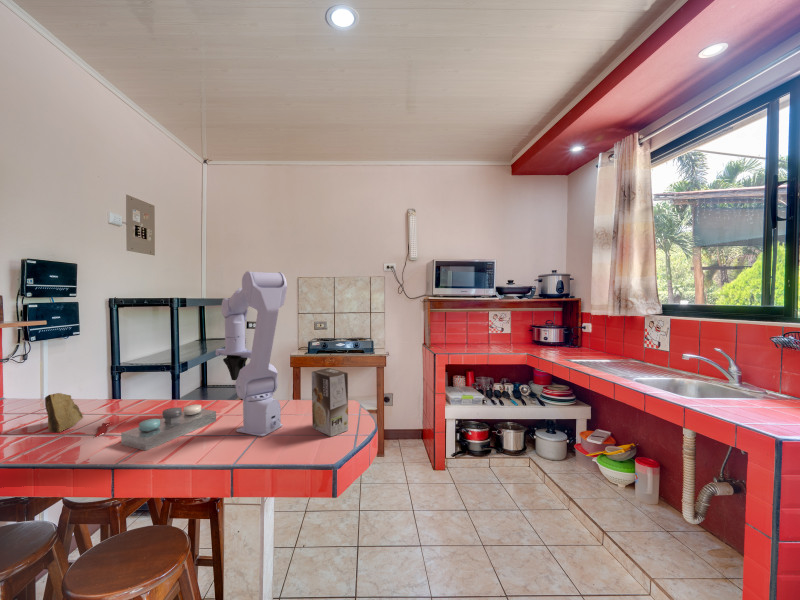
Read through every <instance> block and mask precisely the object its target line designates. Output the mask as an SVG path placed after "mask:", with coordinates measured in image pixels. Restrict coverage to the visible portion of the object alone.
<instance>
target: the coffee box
mask: <svg viewBox="0 0 800 600" xmlns="http://www.w3.org/2000/svg"><path fill="white" fill-rule="evenodd" d="M348 375H349V373H348V372H345V371H343V370H338V369H334V368H330V367H328V368H327V367H326V368H321V369H318V370H315V371H311V409H312V410H311V413H312V414H311V416H312V420H311V422H312V423H311V424H312V429H314V430H315V431H318V432H320V433H323V434H324V435H326V436H328V437H334V436H336V435H339V434H342V433H344V432H347V431H349V377H348Z"/></svg>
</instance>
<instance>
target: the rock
mask: <svg viewBox="0 0 800 600" xmlns="http://www.w3.org/2000/svg"><path fill="white" fill-rule="evenodd" d="M44 404H45V405H44V408H45V410H46V414H47V426H48V427H47V428H48V431H49V432H52V433H59V432H60V433H62V432H61V431H63V430H64V431H65V429H66V430H68V429H70V428H72V427H73V426H75V425H76V424H77V423H78V422H79V421H81V420H82V419H83V418H84V415H83V413H82V411H81V410H80V408H79V406H78V404H76V403H75V402H74V400H73V398H72V396H71V395H69V394H66V393H62V392H57V393H56V392H55V393H52V394H48V395H46V396H45V397H44ZM69 427H70V428H69ZM67 428H68V429H67ZM64 431H63V432H64Z"/></svg>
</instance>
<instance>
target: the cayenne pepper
mask: <svg viewBox="0 0 800 600" xmlns="http://www.w3.org/2000/svg"><path fill="white" fill-rule="evenodd" d="M110 423H111V422H102V424H101V425H100V426H98V427H97V428H96V429H97V432H96V434H95V435H96V436H95V435H94V436H95V438H97V436H98V437H100V436H99V435H100V434H102V433H105V434H107V432H108V431H107V430H108V429H109V428H108V427H109V426H106V425H107V424H109V425H111V424H110Z"/></svg>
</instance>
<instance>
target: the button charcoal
mask: <svg viewBox="0 0 800 600" xmlns="http://www.w3.org/2000/svg"><path fill="white" fill-rule="evenodd" d="M182 410H183V409H182V407H170V408H166V409H164V410H162V411H161V412H162V418H164V419H165V423H169V424H172V423H175V422H177V421H180V416H181V415H182Z"/></svg>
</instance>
